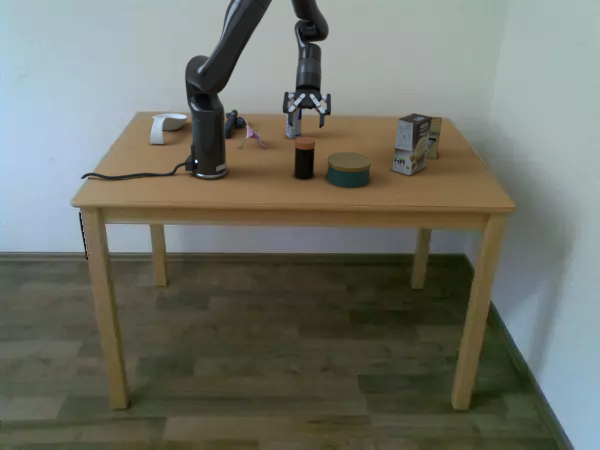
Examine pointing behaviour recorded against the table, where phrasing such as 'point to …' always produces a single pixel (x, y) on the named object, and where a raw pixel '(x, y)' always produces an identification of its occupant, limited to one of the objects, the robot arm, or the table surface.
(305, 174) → the tea tin
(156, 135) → the spoon rest
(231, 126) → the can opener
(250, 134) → the lily
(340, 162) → the biscuit tin
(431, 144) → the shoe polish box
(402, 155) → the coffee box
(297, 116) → the beverage can
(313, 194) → the table surface
